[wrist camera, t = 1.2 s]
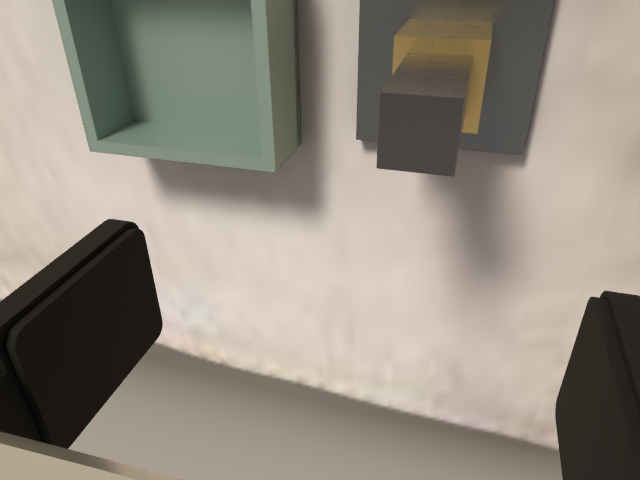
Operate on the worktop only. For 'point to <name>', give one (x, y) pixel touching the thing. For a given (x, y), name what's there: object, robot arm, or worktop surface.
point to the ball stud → (502, 71)
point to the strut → (432, 94)
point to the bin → (186, 78)
